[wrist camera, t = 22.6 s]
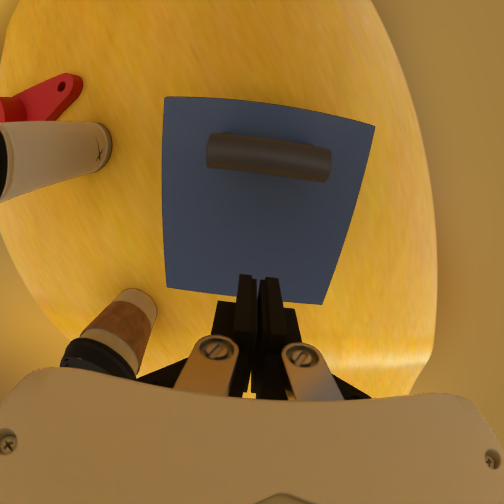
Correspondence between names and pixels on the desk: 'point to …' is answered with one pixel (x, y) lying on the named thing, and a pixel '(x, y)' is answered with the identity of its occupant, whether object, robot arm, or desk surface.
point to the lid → (257, 194)
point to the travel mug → (49, 153)
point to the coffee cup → (115, 337)
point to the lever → (42, 100)
